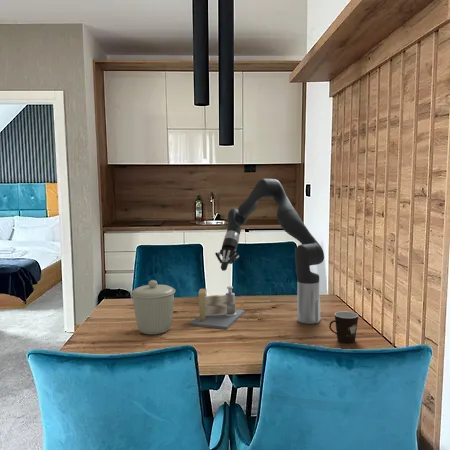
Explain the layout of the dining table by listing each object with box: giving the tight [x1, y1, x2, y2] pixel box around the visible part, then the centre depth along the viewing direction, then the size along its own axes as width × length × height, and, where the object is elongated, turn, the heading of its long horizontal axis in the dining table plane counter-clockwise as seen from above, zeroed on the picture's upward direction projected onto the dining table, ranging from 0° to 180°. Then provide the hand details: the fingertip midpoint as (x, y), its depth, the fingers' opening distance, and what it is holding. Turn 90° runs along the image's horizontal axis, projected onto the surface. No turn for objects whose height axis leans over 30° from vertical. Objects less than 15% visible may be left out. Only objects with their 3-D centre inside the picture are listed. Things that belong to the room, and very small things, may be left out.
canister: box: [130, 279, 176, 335], centre depth 184 cm, size 18×18×21 cm
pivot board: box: [188, 285, 246, 330], centre depth 198 cm, size 17×24×14 cm
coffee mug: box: [328, 310, 359, 345], centre depth 168 cm, size 12×9×10 cm
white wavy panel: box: [205, 292, 236, 315], centre depth 199 cm, size 15×4×9 cm, turn 98°
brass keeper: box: [198, 288, 208, 321], centre depth 196 cm, size 8×3×13 cm, turn 178°
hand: (223, 269), depth 220 cm, fingers closed
